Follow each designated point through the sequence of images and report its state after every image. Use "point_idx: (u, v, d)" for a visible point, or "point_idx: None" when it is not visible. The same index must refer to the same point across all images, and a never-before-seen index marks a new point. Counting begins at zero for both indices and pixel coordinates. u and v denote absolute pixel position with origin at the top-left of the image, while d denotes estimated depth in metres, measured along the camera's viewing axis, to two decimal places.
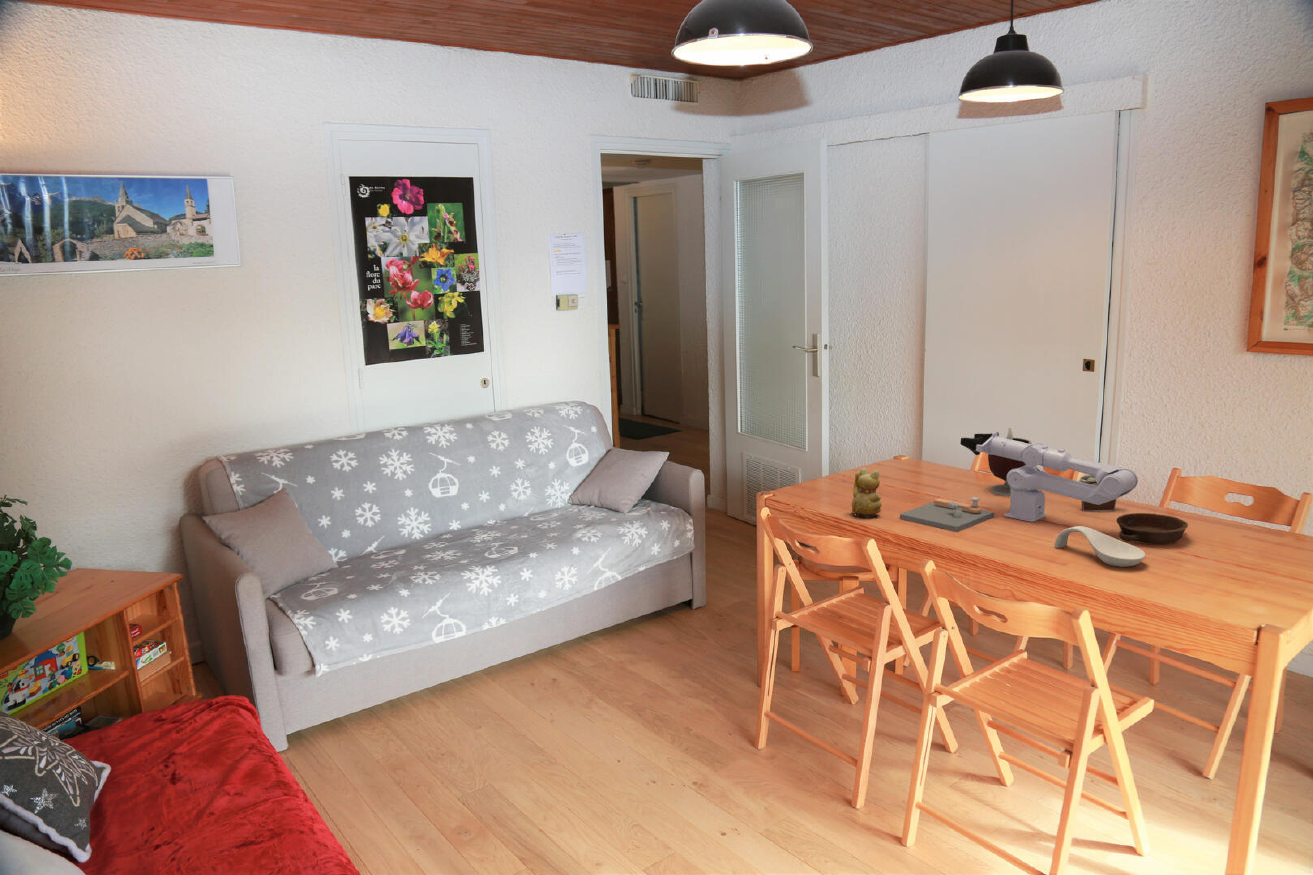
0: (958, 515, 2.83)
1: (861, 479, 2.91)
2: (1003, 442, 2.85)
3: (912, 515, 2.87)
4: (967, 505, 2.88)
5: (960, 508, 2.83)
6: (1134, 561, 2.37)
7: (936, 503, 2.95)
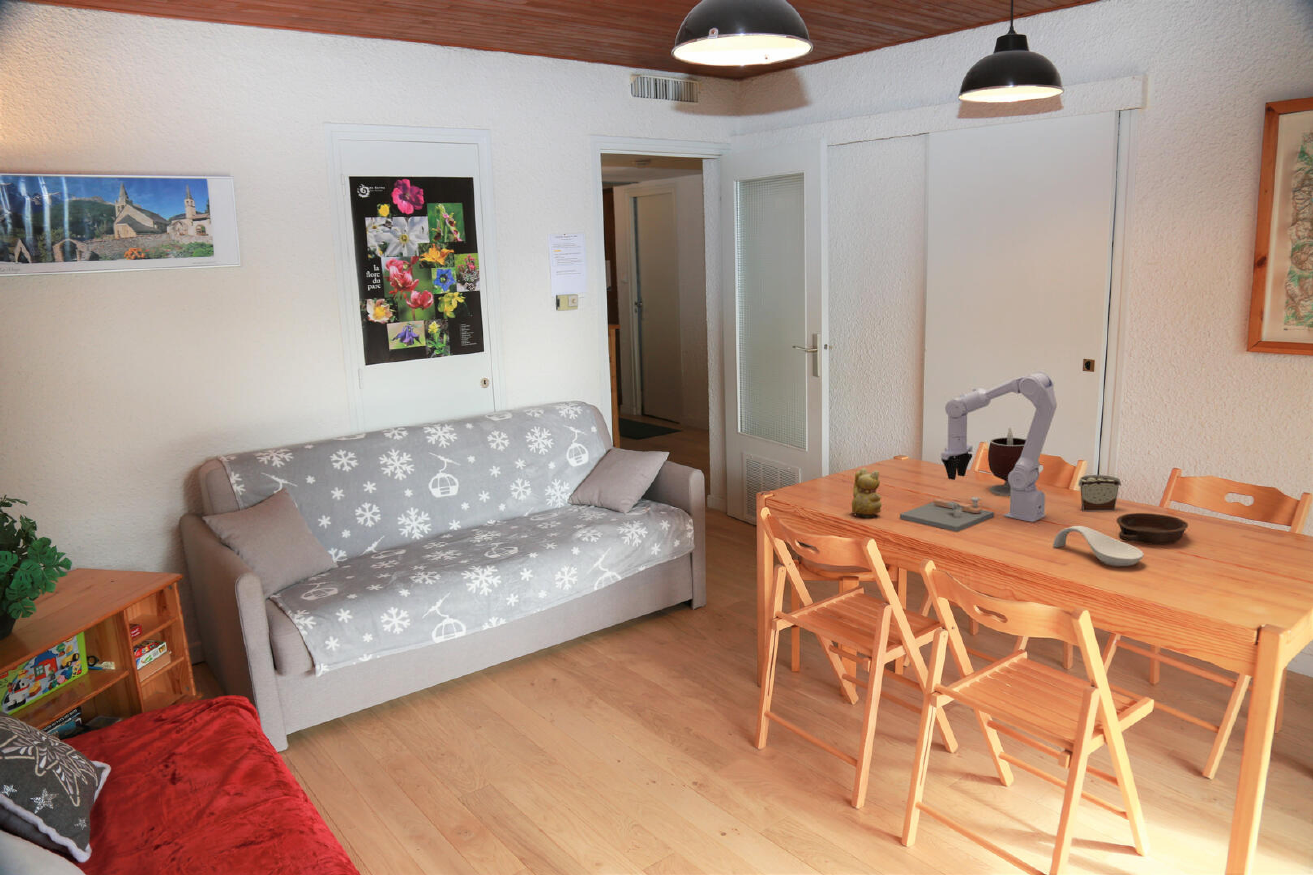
0: (958, 515, 2.83)
1: (861, 479, 2.91)
2: (948, 437, 2.96)
3: (912, 515, 2.87)
4: (967, 505, 2.88)
5: (960, 508, 2.83)
6: (1132, 561, 2.37)
7: (936, 503, 2.95)
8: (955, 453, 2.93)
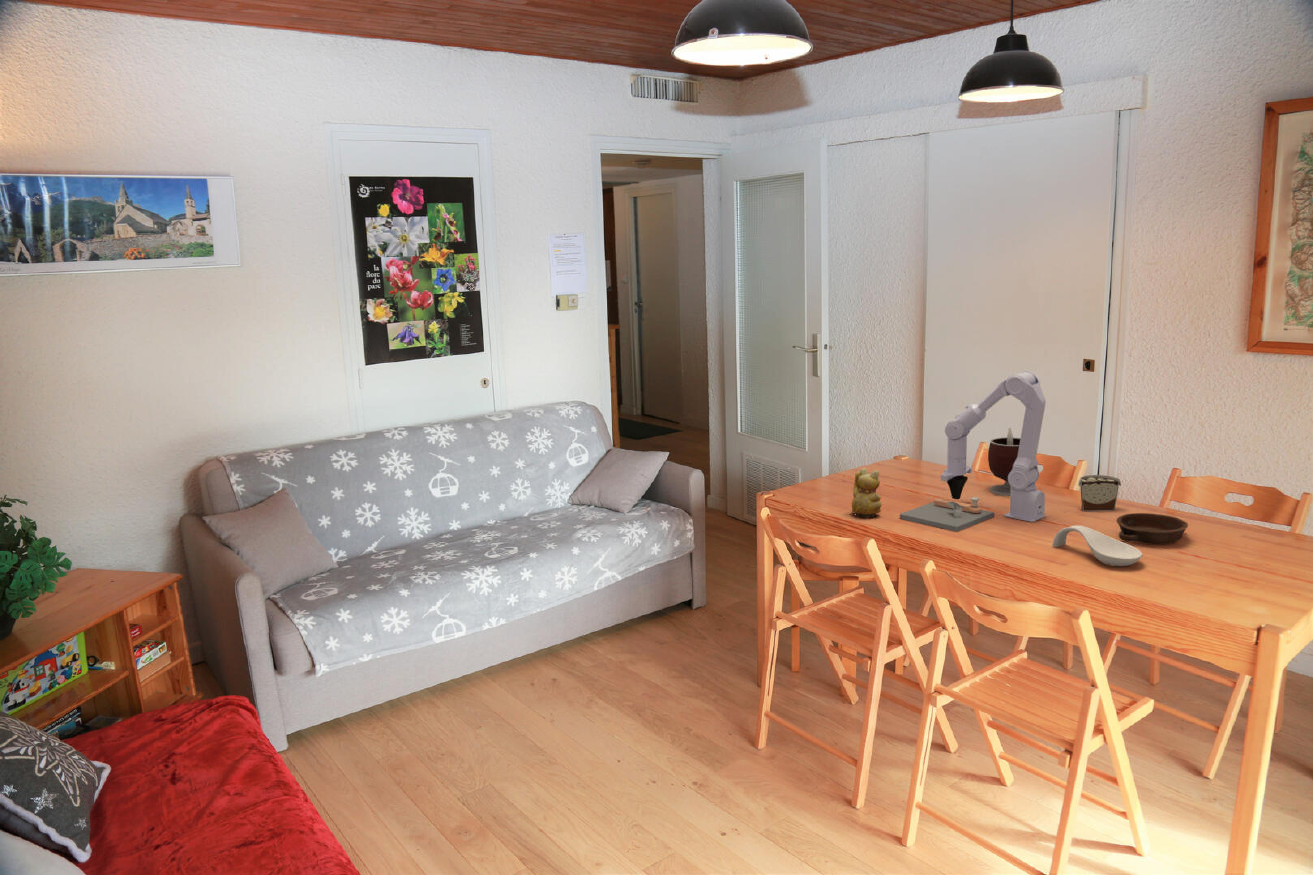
0: (958, 515, 2.83)
1: (861, 479, 2.91)
2: (947, 459, 2.97)
3: (912, 515, 2.87)
4: (967, 505, 2.88)
5: (960, 508, 2.83)
6: (1130, 561, 2.38)
7: (936, 503, 2.95)
8: (955, 475, 2.94)
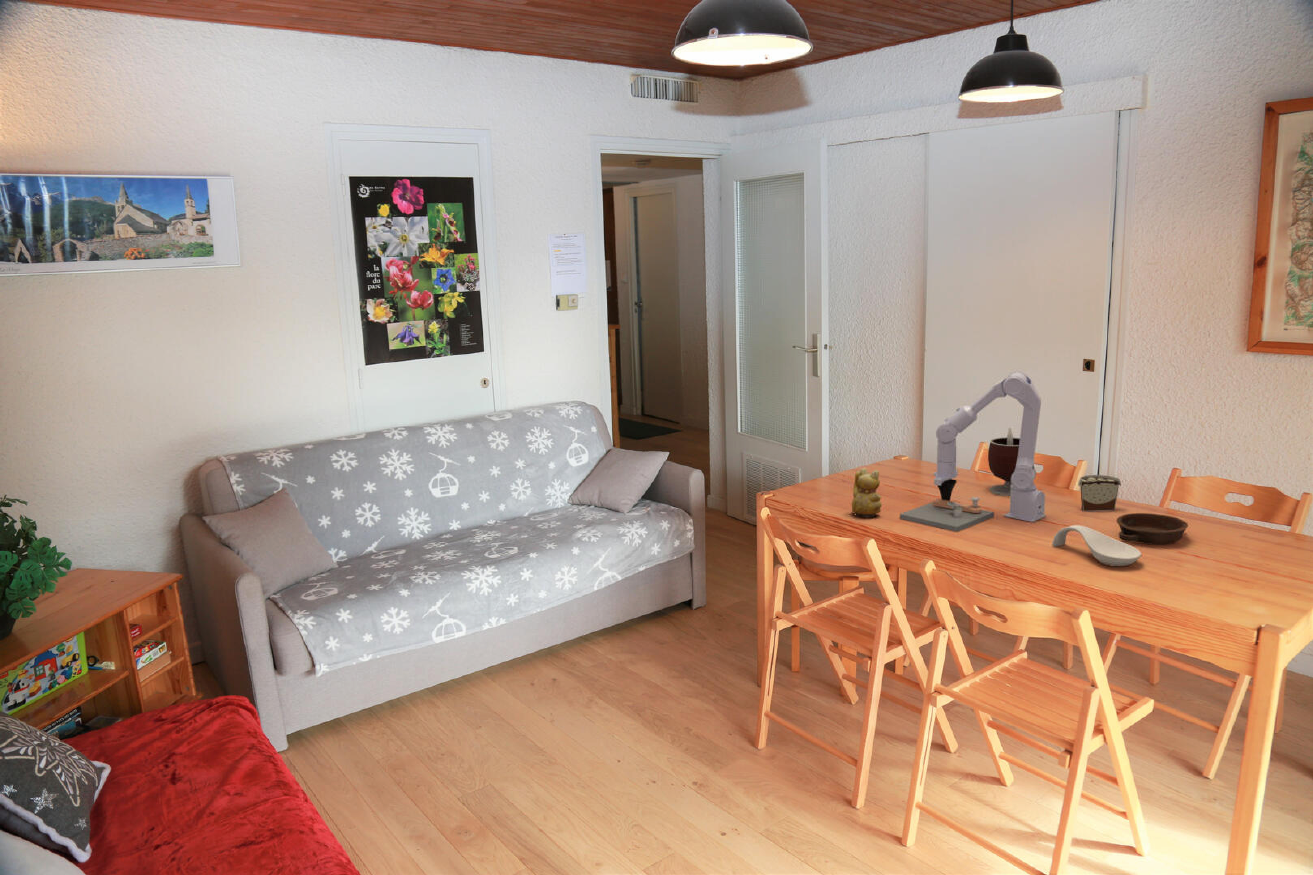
0: (958, 515, 2.83)
1: (861, 479, 2.91)
2: (937, 462, 2.93)
3: (912, 515, 2.87)
4: (967, 505, 2.88)
5: (960, 508, 2.83)
6: (1128, 560, 2.38)
7: (935, 504, 2.95)
8: (947, 478, 2.90)
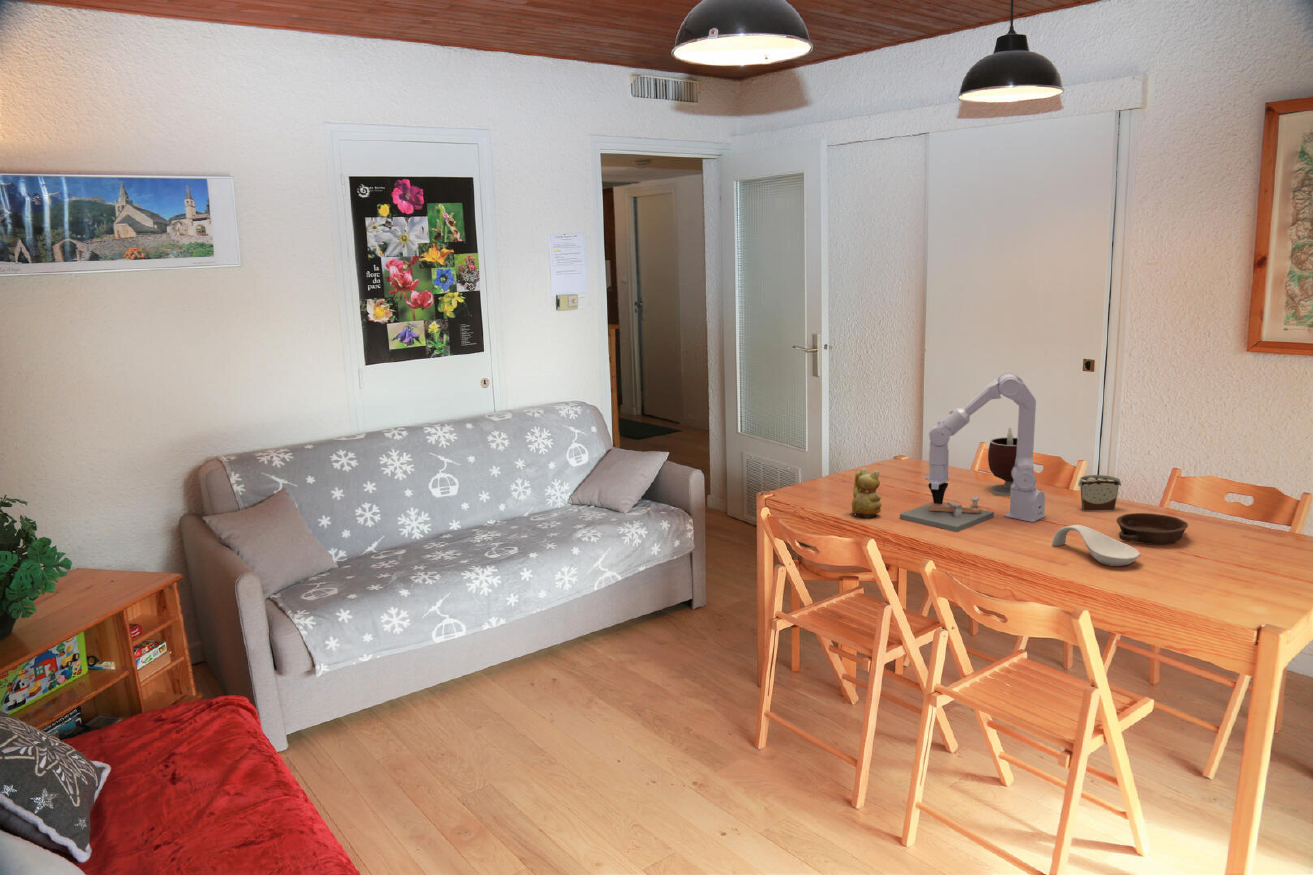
0: (958, 515, 2.83)
1: (861, 479, 2.91)
2: (930, 466, 2.89)
3: (912, 515, 2.87)
4: (966, 506, 2.87)
5: (960, 508, 2.83)
6: (1126, 560, 2.38)
7: (932, 508, 2.90)
8: (942, 482, 2.86)
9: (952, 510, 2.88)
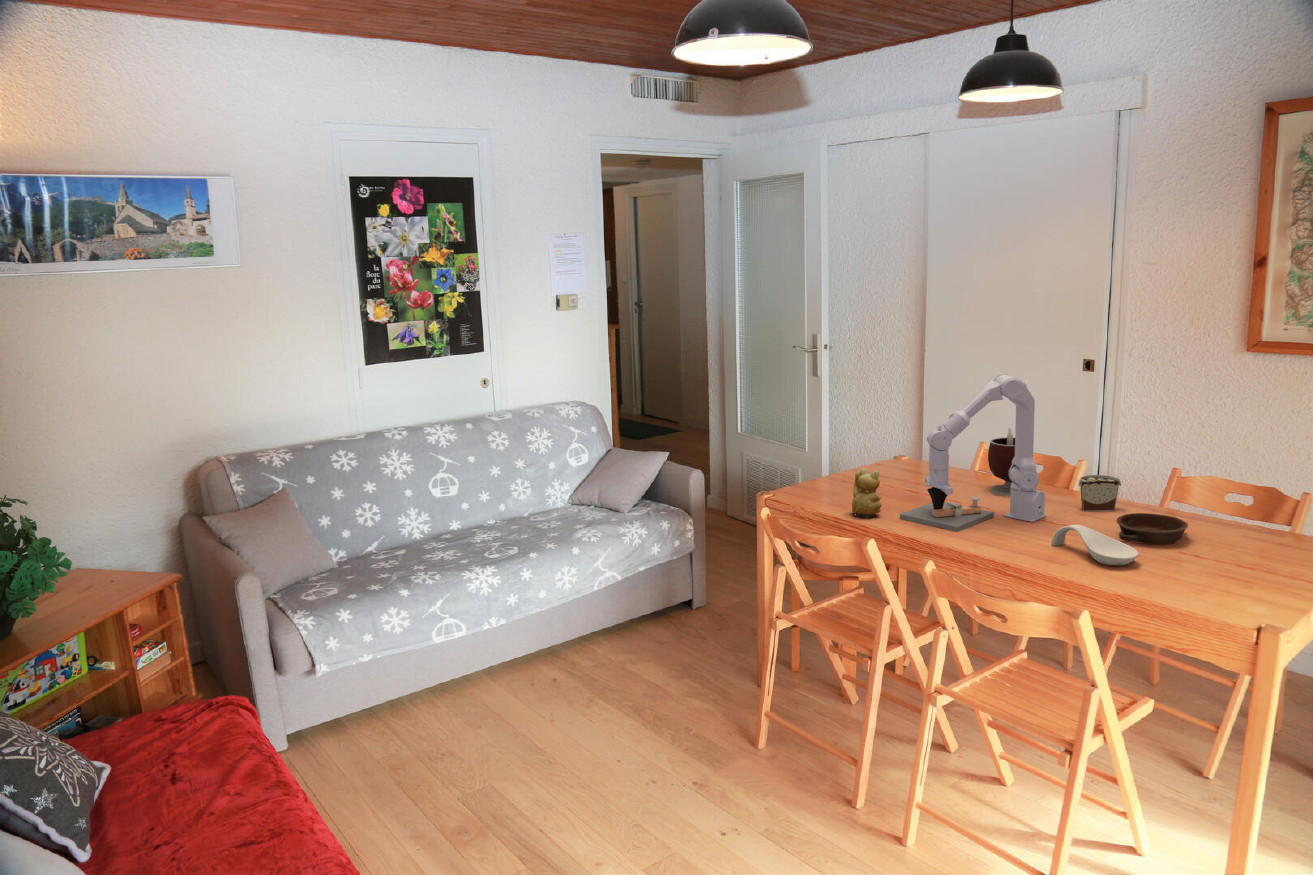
0: (958, 515, 2.83)
1: (861, 479, 2.91)
2: (935, 472, 2.82)
3: (912, 515, 2.87)
4: (967, 507, 2.86)
5: (960, 508, 2.83)
6: (1125, 560, 2.38)
7: (939, 515, 2.83)
8: (950, 486, 2.82)
9: None
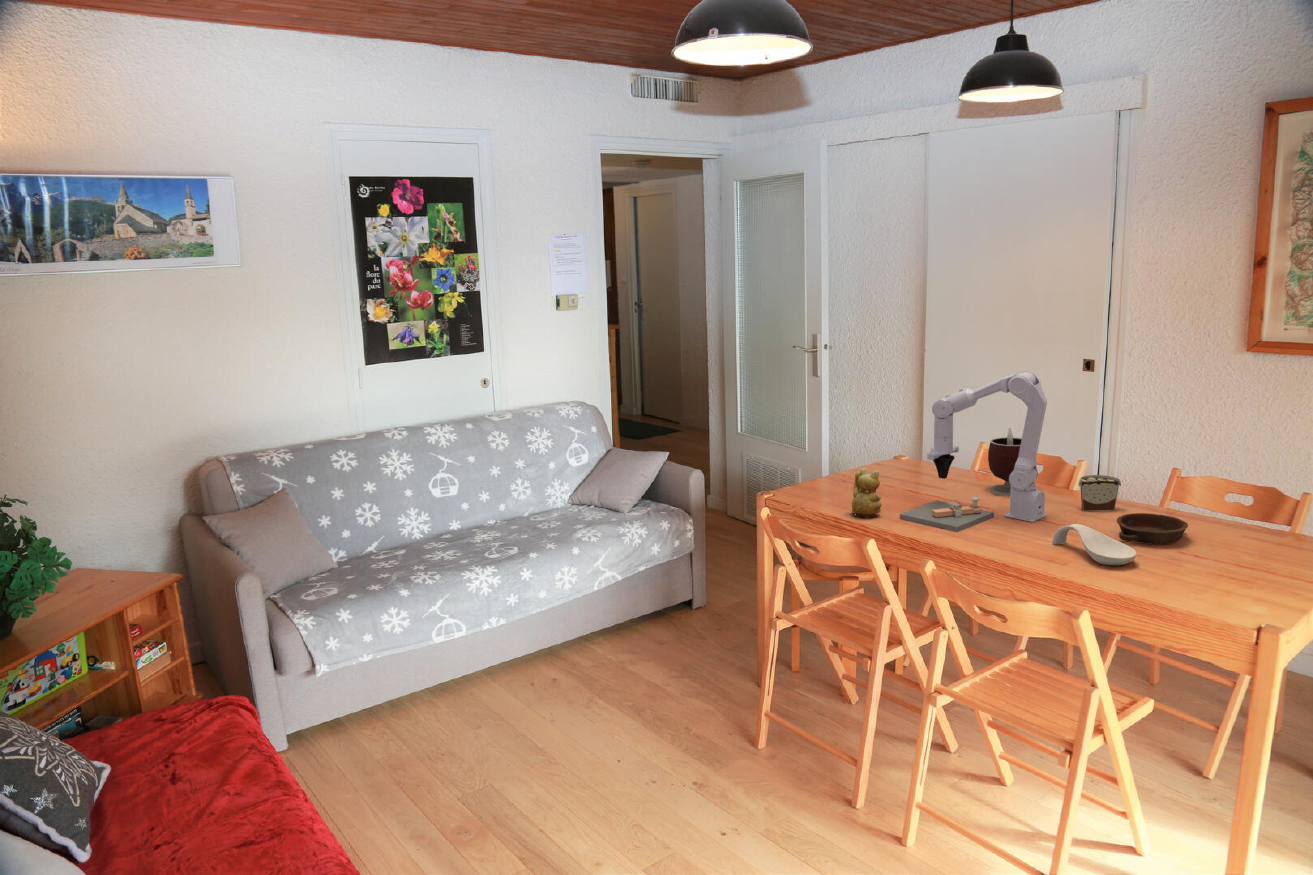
0: (958, 515, 2.83)
1: (861, 479, 2.91)
2: (934, 438, 2.96)
3: (912, 515, 2.87)
4: (967, 507, 2.86)
5: (960, 508, 2.83)
6: (1122, 560, 2.38)
7: (939, 515, 2.83)
8: (941, 453, 2.93)
9: None
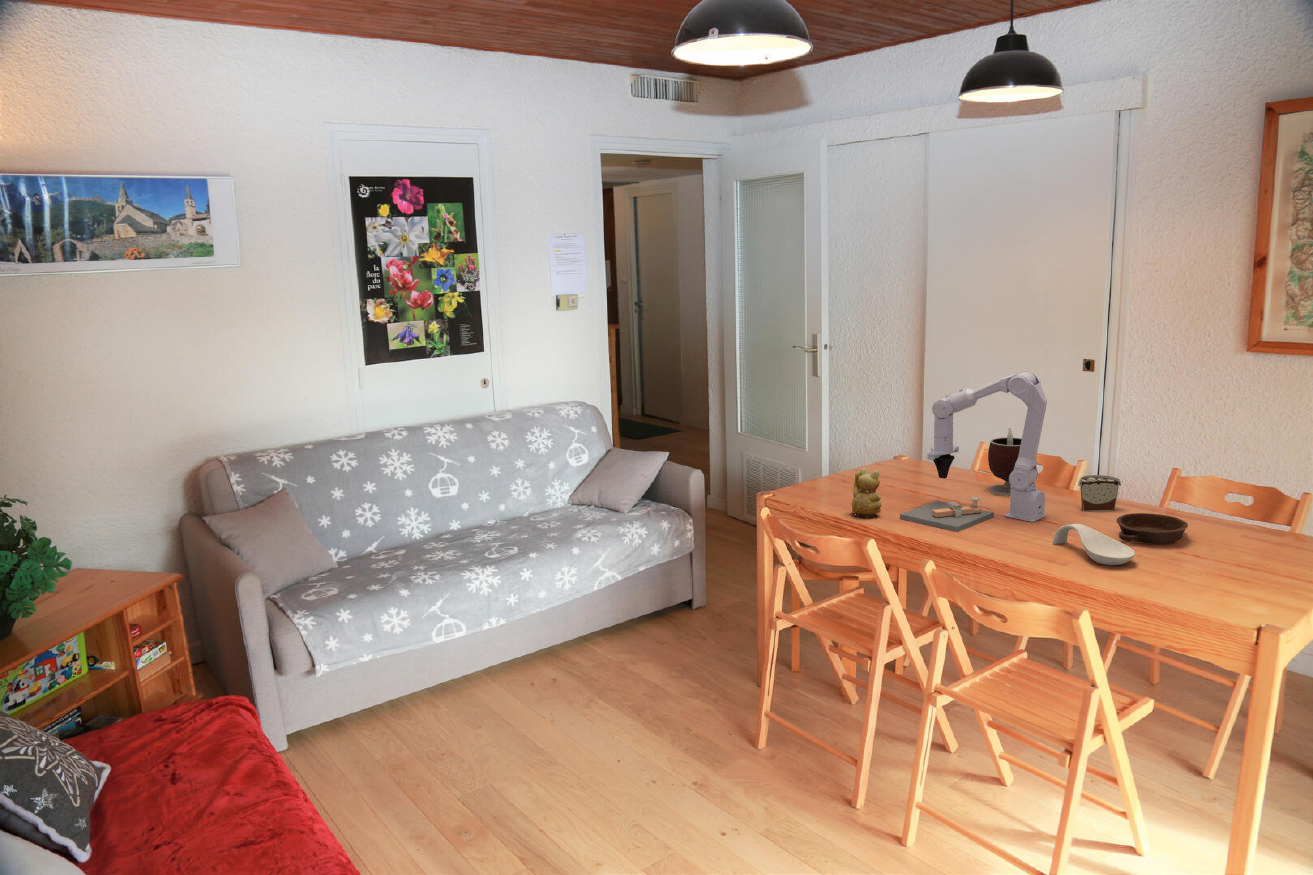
0: (958, 515, 2.83)
1: (861, 479, 2.91)
2: (934, 437, 2.96)
3: (912, 515, 2.87)
4: (967, 507, 2.86)
5: (960, 508, 2.83)
6: (1119, 560, 2.38)
7: (939, 515, 2.83)
8: (941, 453, 2.93)
9: None
